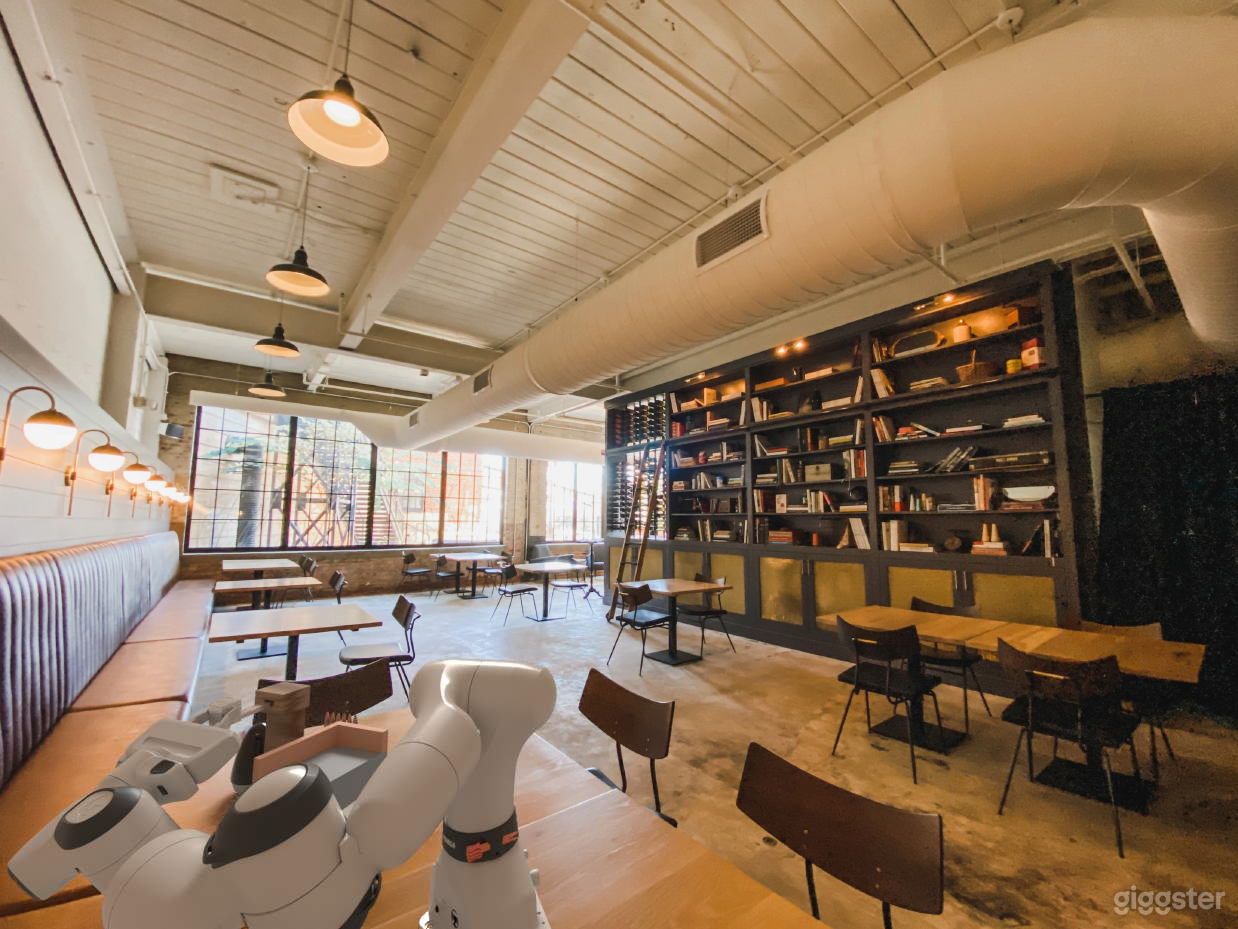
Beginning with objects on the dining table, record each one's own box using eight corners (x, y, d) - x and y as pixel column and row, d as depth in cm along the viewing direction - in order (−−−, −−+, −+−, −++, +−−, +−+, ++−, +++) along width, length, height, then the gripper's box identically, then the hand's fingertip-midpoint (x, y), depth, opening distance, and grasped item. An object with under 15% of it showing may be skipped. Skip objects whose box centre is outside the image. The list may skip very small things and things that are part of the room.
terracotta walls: (307, 794, 87) (308, 769, 87) (252, 781, 91) (254, 758, 92) (387, 750, 104) (388, 729, 104) (337, 740, 108) (338, 721, 109)
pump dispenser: (222, 806, 113) (228, 735, 115) (235, 784, 122) (240, 718, 124) (277, 796, 117) (281, 727, 119) (285, 776, 126) (289, 712, 128)
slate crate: (301, 899, 85) (307, 794, 87) (245, 880, 89) (252, 781, 91) (383, 836, 102) (387, 750, 104) (333, 823, 106) (337, 740, 108)
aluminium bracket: (221, 729, 93) (221, 706, 93) (208, 726, 94) (209, 704, 94) (295, 697, 106) (295, 678, 107) (283, 696, 108) (283, 676, 108)
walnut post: (280, 850, 98) (290, 695, 101) (237, 837, 102) (248, 689, 105) (317, 827, 105) (325, 683, 108) (276, 816, 109) (285, 678, 112)
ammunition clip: (319, 759, 135) (321, 712, 136) (324, 756, 137) (327, 710, 138) (353, 763, 133) (356, 715, 134) (358, 760, 135) (361, 713, 136)
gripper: (119, 780, 88) (199, 714, 100) (196, 801, 81) (272, 727, 93) (99, 754, 86) (183, 690, 98) (177, 774, 79) (257, 702, 91)
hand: (227, 708), depth 96 cm, fingers open, 3 cm apart
